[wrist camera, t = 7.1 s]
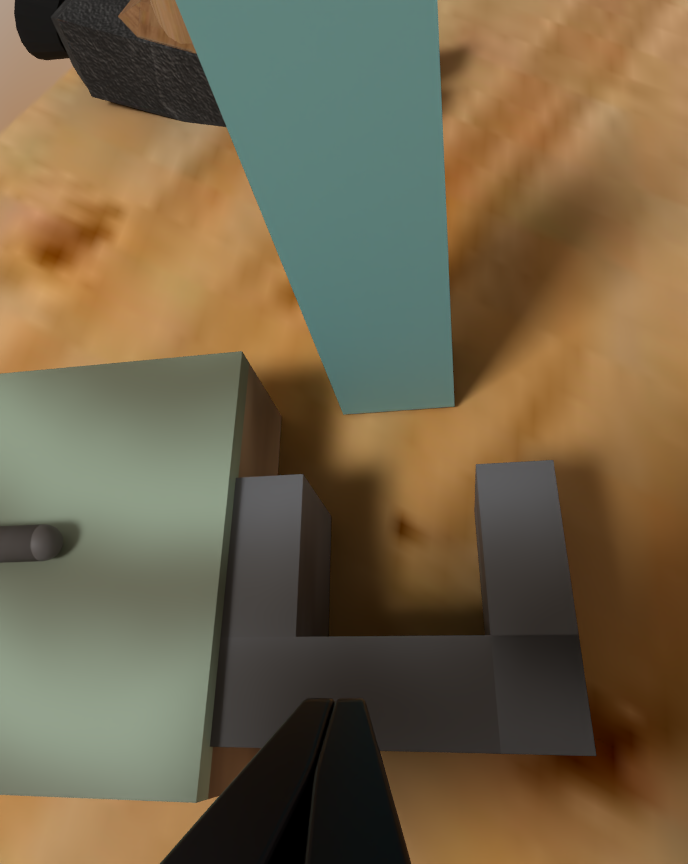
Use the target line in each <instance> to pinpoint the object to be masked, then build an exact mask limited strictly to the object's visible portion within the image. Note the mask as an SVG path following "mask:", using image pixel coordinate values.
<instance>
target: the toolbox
mask: <svg viewBox="0 0 688 864" xmlns="http://www.w3.org/2000/svg"><path fill="white" fill-rule="evenodd" d="M281 419H282V416H281V414H280V413H279V411H278V409H277V408H276V406H275V405H274V403H273V401H272V400H271V398H270V396H269V395H268V393H267V391H266V390H265V388H264V386H263V385H262V383H261V382H260V380H259V378H258V377H257V375H256V373H255V372H254V370H253V368H252V367H251V365H250V364H249V362H248V360H247V359H246V357H245V355H244V354H243V352H242V351H240V352H230V353H219V354H208V355H197V356H187V357H176V358H165V359H154V360H143V361H133V362H122V363H111V364H100V365H90V366H79V367H68V368H57V369H47V370H36V371H25V372H14V373H3V374H0V795H20V796H44V797H69V798H93V799H118V800H143V801H167V802H192V803H197V802H200V801H203V800H207V799H210V798H213V797H217V796H220V795H221V794H222V792H223V791H224V790H225V789H226V788H227V787H228V786H229V784H230V783H231V782H232V781H233V780H234V779H235V778H236V776H237V775H238V774H239V773H240V772H241V771H242V770H243V769H244V767H245V766H246V765H247V764H248V763H249V762H250V761H251V759H252V758H253V757H254V756H255V755H256V754H257V753H258V751H259V750H260V748H262V747H263V746H264V745H265V743H266V742H267V741H268V740H269V739H270V738H271V737H272V736H273V734H274V733H275V732H276V731H277V730H278V729H279V728H280V726H281V725H282V724H283V723H284V722H285V721H286V720H287V718H288V717H289V716H290V715H291V714H292V713H293V712H294V710H295V709H296V708H297V707H298V706H299V705H300V704H301V703H302V702H303V701H304V700H305V699H307V698H331V699H333V700H334V701H336V700H337V699H339V698H361V699H364V700H365V702H366V704H367V708H368V711H369V715H370V718H371V722H372V725H373V729H374V733H375V736H376V740H377V743H378V747H379V750H380V751H409V752H451V753H493V754H535V755H577V756H596V750H595V743H594V736H593V729H592V723H591V716H590V709H589V702H588V695H587V688H586V682H585V675H584V668H583V661H582V654H581V647H580V640H579V634H578V627H577V620H576V613H575V606H574V599H573V593H572V586H571V579H570V572H569V565H568V558H567V551H566V545H565V538H564V531H563V524H562V517H561V510H560V503H559V497H558V490H557V483H556V476H555V469H554V462H553V460H546V461H528V462H510V463H492V464H476V479H475V522H476V534H477V546H478V558H479V571H480V583H481V595H482V607H483V619H484V631H485V635H452V636H336V637H329V597H330V555H331V515H330V514H329V512H328V511H327V509H326V508H325V506H324V505H323V503H322V502H321V500H320V499H319V497H318V496H317V494H316V493H315V491H314V490H313V488H312V487H311V485H310V484H309V482H308V481H307V479H306V478H305V476H304V475H303V474H295V475H278V466H279V450H280V435H281Z"/></svg>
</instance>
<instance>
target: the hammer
mask: <svg viewBox="0 0 688 864" xmlns="http://www.w3.org/2000/svg"><path fill="white" fill-rule="evenodd" d="M14 14H15V21H16V28H17V31H18V33H19V36H20V39H21V41H22V43H23V45H24V46H25V47H26V49H27V50H28V52H29V53H31V54H32V55H33V56H35V57H36V58H38V59H44V60H53V59H64V58H70V60H71V63H72V65H73V67H74V68H75V70H76V71H77V73H78V75H79V76H80V78H81V79H82V81H83V82H84V83H85V85H86V86H87V88H88V89H89V92H90V94H91V96H92V97H95V98H99V99H103V100H106V101H110V102H114V103H117V104H121V105H125V106H129V107H132V108H136V109H140V110H143V111H147V112H151V113H154V114H158V115H162V116H166V117H169V118H173V119H177V120H180V121H184V122H190V123H198V124H206V125H215V126H223V127H226V124H225V122H224V119H223V117H222V114H221V112H220V109H219V107H218V104H217V102H216V100H215V97H214V95H213V92H212V90H211V87H210V85H209V82H208V80H207V77H206V75H205V72H204V70H203V68H202V65H201V63H200V60H199V58H198V55H197V53H196V50H195V48H194V45H193V43H192V40H191V38H190V36H189V33H188V31H187V28H186V26H185V23H184V21H183V18H182V16H181V13H180V11H179V8H178V6H177V4H176V1H175V0H15V10H14Z"/></svg>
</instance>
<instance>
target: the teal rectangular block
mask: <svg viewBox="0 0 688 864" xmlns="http://www.w3.org/2000/svg"><path fill="white" fill-rule="evenodd" d="M175 1H176V4H177V6H178V8H179V11H180V13H181V16H182V18H183V21H184V23H185V26H186V28H187V31H188V33H189V36H190V38H191V40H192V43H193V45H194V48H195V50H196V53H197V55H198V58H199V60H200V63H201V65H202V68H203V70H204V72H205V75H206V77H207V80H208V82H209V85H210V87H211V90H212V92H213V95H214V97H215V100H216V102H217V104H218V107H219V109H220V112H221V114H222V117H223V119H224V122H225V124H226V127H227V129H228V132H229V134H230V136H231V139H232V141H233V144H234V146H235V149H236V151H237V154H238V156H239V159H240V161H241V164H242V166H243V169H244V171H245V173H246V176H247V178H248V181H249V183H250V186H251V188H252V191H253V193H254V196H255V198H256V201H257V203H258V205H259V208H260V210H261V213H262V215H263V218H264V220H265V223H266V225H267V228H268V230H269V233H270V235H271V237H272V240H273V242H274V245H275V247H276V250H277V252H278V255H279V257H280V260H281V262H282V265H283V267H284V269H285V272H286V274H287V277H288V279H289V282H290V284H291V287H292V289H293V292H294V294H295V297H296V299H297V301H298V304H299V306H300V309H301V311H302V314H303V316H304V319H305V321H306V324H307V326H308V329H309V331H310V333H311V336H312V338H313V341H314V343H315V346H316V348H317V351H318V353H319V356H320V358H321V361H322V363H323V365H324V368H325V370H326V373H327V375H328V378H329V380H330V383H331V385H332V388H333V390H334V393H335V395H336V398H337V400H338V402H339V405H340V407H341V410H342V412H343V414H357V413H371V412H385V411H399V410H412V409H426V408H440V407H454V406H455V404H454V381H453V357H452V334H451V311H450V287H449V264H448V241H447V217H446V194H445V171H444V147H443V124H442V101H441V77H440V54H439V31H438V7H437V0H175Z"/></svg>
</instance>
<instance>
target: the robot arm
mask: <svg viewBox="0 0 688 864" xmlns="http://www.w3.org/2000/svg"><path fill="white" fill-rule="evenodd" d="M160 864H411V861H410V857H409V854H408V850H407V847H406V843H405V840H404V836H403V832H402V829H401V825H400V822H399V818H398V815H397V811H396V807H395V804H394V800H393V797H392V793H391V790H390V786H389V783H388V779H387V775H386V772H385V768H384V765H383V761H382V758H381V754H380V750H379V747H378V743H377V740H376V736H375V733H374V729H373V725H372V722H371V718H370V715H369V711H368V708H367V704H366V702H365V700H364V699H361V698H339V699H337V700H336V701H334V700H333V699H331V698H307V699H305V700H304V701H303V702H302V703H301V704H300V705H299V706H298V707H297V708H296V709H295V710H294V712H293V713H292V714H291V715H290V716H289V717H288V718H287V720H286V721H285V722H284V723H283V724H282V725H281V726H280V728H279V729H278V730H277V731H276V732H275V733H274V734H273V736H272V737H271V738H270V739H269V740H268V741H267V742H266V743H265V745H264V746H263V747H262V748H261V749H260V750H259V751H258V753H257V754H256V755H255V756H254V757H253V758H252V759H251V761H250V762H249V763H248V764H247V765H246V766H245V767H244V769H243V770H242V771H241V772H240V773H239V774H238V775H237V776H236V778H235V779H234V780H233V781H232V782H231V783H230V784H229V786H228V787H227V788H226V789H225V790H224V791H223V792H222V794H221V795H220V796H219V797H218V798H217V799H216V800H215V802H214V803H213V804H212V805H211V806H210V807H209V808H208V809H207V811H206V812H205V813H204V814H203V815H202V816H201V817H200V819H199V820H198V821H197V822H196V823H195V824H194V825H193V827H192V828H191V829H190V830H189V831H188V832H187V833H186V835H185V836H184V837H183V838H182V839H181V840H180V841H179V842H178V844H177V845H176V846H175V847H174V848H173V849H172V850H171V852H170V853H169V854H168V855H167V856H166V857H165V858H164V860H163V861H162V862H161V863H160Z"/></svg>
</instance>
